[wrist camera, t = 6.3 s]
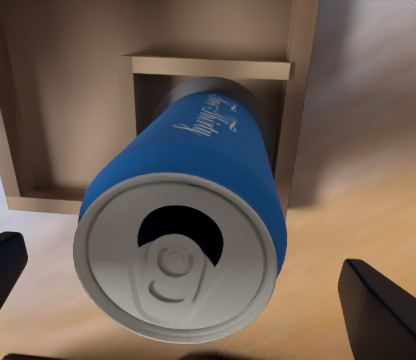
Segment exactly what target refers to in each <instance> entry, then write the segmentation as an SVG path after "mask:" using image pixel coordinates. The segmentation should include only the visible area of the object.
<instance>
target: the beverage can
mask: <svg viewBox="0 0 416 360" xmlns="http://www.w3.org/2000/svg"><path fill="white" fill-rule="evenodd" d="M286 248H287V230H286V223H285V219H284V215H283V211H282V208H281V204H280V200H279V197H278V193H277V189H276V186H275V182H274V178H273V175H272V171H271V167H270V164H269V160H268V156H267V153H266V149H265V145H264V142H263V138H262V134H261V131H260V128H259V125H258V123H257V121H256V119H255V117H254V116H253V114H252V113H251V112H250V111H249V110H248V108H247V107H245V106H244V105H243V104H242V103H241V102H239V101H238V100H236V99H234V98H232V97H230V96H228V95H225V94H222V93H218V92H209V91H205V92H196V93H192V94H189V95H186V96H184V97H182V98H180V99H178V100H177V101H176V102H174V103H173V104H172V105H171V106H169V107H168V108H167V109H166V110H165V111H164V112H163V113H162V114H161V115H160V116H159V117H158V118H157V119H156V120H154V121H153V122H152V123H151V124H150V125H149V126H148V127H147V128H146V129H145V130H144V131H143V132H142V133H141V134H139V135H138V136H137V137H136V138H135V139H134V140H133V141H132V142H131V143H130V144H129V145H128V146H127V147H126V148H125V149H123V150H122V151H121V152H120V153H119V154H118V155H117V156H116V157H115V158H114V159H113V160H112V161H111V162H110V163H108V164H107V165H106V166H105V167H104V168H103V169H102V170H101V171H100V172H99V173H98V174H97V176H96V177H95V178H94V180H93V181H92V182H91V184H90V186H89V188H88V189H87V191H86V193H85V196H84V198H83V201H82V204H81V207H80V213H79V219H78V227H77V230H76V233H75V238H74V244H73V258H74V265H75V269H76V272H77V275H78V278H79V280H80V283H81V285H82V287H83V289H84V290H85V292H86V293H87V295H88V297H89V298H90V299H91V300H92V302H93V303H94V304H95V305H96V306H97V307H98V308H99V309H100V310H101V311H102V312H103V313H104V314H105V315H106V316H108V317H109V318H110V319H111V320H113V321H114V322H116V323H117V324H119V325H120V326H122V327H123V328H125V329H127V330H129V331H131V332H133V333H135V334H138V335H140V336H143V337H146V338H149V339H153V340H156V341H161V342H166V343H175V344H196V343H205V342H210V341H215V340H218V339H221V338H224V337H227V336H229V335H231V334H234V333H236V332H237V331H239V330H241V329H243V328H244V327H246V326H247V325H248V324H250V323H251V322H252V321H253V320H254V319H255V318H256V317H257V316H258V315H259V314H260V313H261V312H262V311H263V309H264V308H265V307H266V305H267V303H268V302H269V300H270V298H271V296H272V293H273V290H274V287H275V283H276V279H277V277H278V275H279V273H280V271H281V268H282V265H283V262H284V259H285V254H286Z"/></svg>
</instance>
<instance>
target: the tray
mask: <svg viewBox="0 0 416 360" xmlns="http://www.w3.org/2000/svg"><path fill="white" fill-rule="evenodd" d="M319 1H320V0H0V176H1V180H2V184H3V188H4V192H5V196H6V200H7V204H8V208H9V210H20V211H33V212H47V213H60V214H74V215H79V213H80V207H81V204H82V201H83V198H84V196H85V193H86V191H87V189H88V188H89V186H90V184H91V182H92V181H93V180H94V178H95V177H96V176H97V174H98V173H99V172H100V171H101V170H102V169H103V168H104V167H105V166H106V165H107V164H108V163H110V162H111V161H112V160H113V159H114V158H115V157H116V156H117V155H118V154H119V153H120V152H121V151H122V150H123V149H125V148H126V147H127V146H128V145H129V144H130V143H131V142H132V141H133V140H134V139H135V138H136V137H137V136H138V135H139V134H141V133H142V132H143V131H144V130H145V129H146V128H147V127H148V126H149V125H150V124H151V123H152V122H153V121H154V120H156V119H157V118H158V117H159V116H160V115H161V114H162V113H163V112H164V111H165V110H166V109H167V108H168V107H169V106H171V105H172V104H173V103H174V102H176V101H177V100H178V99H180V98H182V97H184V96H186V95H189V94H192V93H196V92H205V91H209V92H218V93H222V94H225V95H228V96H230V97H232V98H234V99H236V100H238V101H239V102H241V103H242V104H243V105H244V106H245V107H247V108H248V110H249V111H250V112H251V113H252V114H253V116H254V117H255V119H256V121H257V123H258V125H259V128H260V131H261V134H262V138H263V142H264V145H265V149H266V153H267V156H268V160H269V164H270V167H271V171H272V175H273V178H274V182H275V186H276V189H277V193H278V197H279V200H280V204H281V208H282V211H283V215H284V219H285V221H286V214H287V208H288V201H289V195H290V188H291V182H292V176H293V169H294V163H295V156H296V150H297V143H298V137H299V130H300V124H301V118H302V111H303V105H304V98H305V92H306V85H307V79H308V72H309V66H310V59H311V53H312V47H313V40H314V34H315V27H316V21H317V14H318V8H319Z"/></svg>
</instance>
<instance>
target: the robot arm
mask: <svg viewBox="0 0 416 360" xmlns="http://www.w3.org/2000/svg"><path fill="white" fill-rule="evenodd" d="M27 261H28V254H27V250H26V246H25V242H24V238H23V235H22V234H21V233H19V232H8V231H7V232H2V233H0V309H1V307H2V306H3V304H4V303H5V301H6V299H7V297H8V296H9V294H10V292H11V290H12V289H13V287H14V285H15V283H16V282H17V280H18V278H19V277H20V275H21V273H22V271H23V270H24V268H25V266H26V264H27ZM338 292H339V297H340V301H341V306H342V311H343V315H344V320H345V324H346V329H347V333H348V338H349V342H350V346H351V349H352V352H353V356H354V359H355V360H416V298H415V297H414V296H412V295H411V294H409V293H408V292H407V291H405V290H404V289H402V288H401V287H400V286H398V285H397V284H395V283H394V282H393V281H391V280H390V279H388V278H387V277H385V276H384V275H383V274H381V273H380V272H378V271H377V270H376V269H374V268H373V267H371V266H370V265H369V264H367V263H366V262H364V261H363V260H360V259H346V260H345V261H344V263H343V266H342V270H341V274H340V278H339V282H338ZM2 360H46V359H37V358H27V357H18V356H8V355H6V356H4V357H3V359H2Z"/></svg>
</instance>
